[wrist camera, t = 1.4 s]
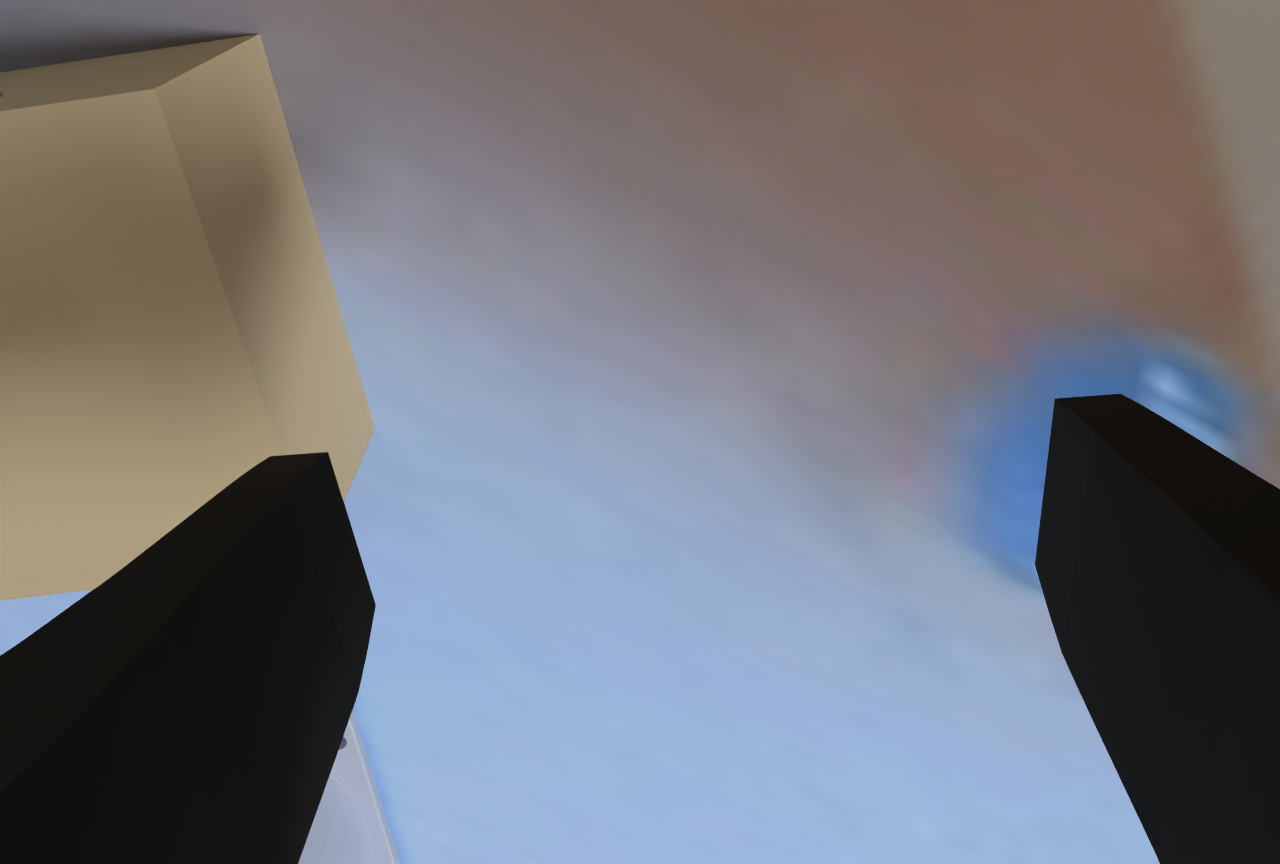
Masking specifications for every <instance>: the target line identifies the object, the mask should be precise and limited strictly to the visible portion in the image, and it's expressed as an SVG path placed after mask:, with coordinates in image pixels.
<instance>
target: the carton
mask: <svg viewBox="0 0 1280 864" xmlns="http://www.w3.org/2000/svg"><path fill="white" fill-rule="evenodd" d="M374 430H375V427H374V423H373V420H372V416H371V413H370V410H369V406H368V403H367V399H366V396H365V392H364V389H363V386H362V382H361V379H360V375H359V372H358V369H357V365H356V362H355V358H354V355H353V351H352V348H351V345H350V341H349V338H348V334H347V331H346V328H345V324H344V321H343V317H342V314H341V310H340V307H339V304H338V300H337V297H336V293H335V290H334V287H333V283H332V280H331V276H330V273H329V269H328V266H327V263H326V259H325V256H324V252H323V249H322V246H321V242H320V239H319V235H318V232H317V229H316V225H315V222H314V218H313V215H312V211H311V208H310V205H309V201H308V198H307V194H306V191H305V188H304V184H303V181H302V177H301V174H300V170H299V167H298V164H297V160H296V157H295V153H294V150H293V147H292V143H291V140H290V136H289V133H288V129H287V126H286V123H285V119H284V116H283V112H282V109H281V106H280V102H279V99H278V95H277V92H276V88H275V85H274V82H273V78H272V75H271V71H270V68H269V65H268V61H267V58H266V54H265V51H264V47H263V44H262V41H261V37H260V34H255V35H249V36H242V37H235V38H228V39H222V40H215V41H208V42H201V43H195V44H188V45H181V46H174V47H168V48H161V49H154V50H147V51H141V52H134V53H127V54H120V55H114V56H107V57H100V58H93V59H87V60H80V61H73V62H66V63H60V64H53V65H46V66H40V67H33V68H26V69H19V70H13V71H6V72H0V600H8V599H16V598H25V597H33V596H41V595H50V594H58V593H66V592H75V591H83V590H91V589H95V588H96V587H98V586H99V585H101V584H102V583H103V582H105V581H106V580H108V579H109V578H110V577H112V576H113V575H114V574H116V573H117V572H118V571H120V570H121V569H122V568H123V567H125V566H126V565H127V564H129V563H130V562H131V561H132V560H134V559H135V558H136V557H138V556H139V555H140V554H141V553H143V552H144V551H145V550H146V549H148V548H149V547H150V546H152V545H153V544H154V543H155V542H157V541H158V540H159V539H161V538H162V537H163V536H164V535H166V534H167V533H168V532H170V531H171V530H172V529H173V528H175V527H176V526H177V525H178V524H180V523H181V522H182V521H184V520H185V519H186V518H187V517H189V516H190V515H191V514H192V513H194V512H195V511H196V510H197V509H199V508H200V507H201V506H203V505H204V504H205V503H206V502H208V501H209V500H210V499H212V498H213V497H214V496H215V495H217V494H218V493H219V492H221V491H222V490H223V489H224V488H226V487H227V486H228V485H230V484H231V483H232V482H234V481H235V480H236V479H238V478H239V477H240V476H242V475H243V474H244V473H246V472H247V471H249V470H250V469H251V468H253V467H254V466H256V465H257V464H259V463H260V462H262V461H264V460H265V459H267V458H268V457H270V456H279V455H293V454H307V453H320V452H328V453H329V457H330V460H331V463H332V466H333V470H334V473H335V476H336V479H337V482H338V486H339V489H340V492H341V495H342V498H343V502H344V500H345V498H346V496H347V493H348V491H349V489H350V486H351V484H352V482H353V479H354V477H355V474H356V472H357V470H358V467H359V465H360V463H361V460H362V458H363V456H364V453H365V451H366V449H367V446H368V444H369V442H370V439H371V437H372V435H373V432H374Z"/></svg>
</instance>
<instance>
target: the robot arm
mask: <svg viewBox="0 0 1280 864" xmlns="http://www.w3.org/2000/svg"><path fill="white" fill-rule="evenodd" d="M1035 566H1036V570H1037V573H1038V576H1039V580H1040V583H1041V587H1042V590H1043V594H1044V597H1045V600H1046V604H1047V607H1048V611H1049V614H1050V617H1051V620H1052V623H1053V626H1054V629H1055V633H1056V636H1057V639H1058V642H1059V645H1060V648H1061V651H1062V654H1063V656H1064V658H1065V661H1066V663H1067V665H1068V667H1069V669H1070V672H1071V674H1072V676H1073V678H1074V680H1075V683H1076V685H1077V687H1078V689H1079V691H1080V693H1081V696H1082V698H1083V700H1084V702H1085V704H1086V706H1087V709H1088V711H1089V713H1090V715H1091V717H1092V719H1093V722H1094V724H1095V726H1096V728H1097V730H1098V732H1099V734H1100V736H1101V739H1102V741H1103V743H1104V745H1105V747H1106V749H1107V751H1108V753H1109V756H1110V758H1111V760H1112V762H1113V764H1114V766H1115V768H1116V770H1117V772H1118V775H1119V777H1120V779H1121V781H1122V783H1123V785H1124V787H1125V789H1126V792H1127V794H1128V796H1129V798H1130V800H1131V802H1132V804H1133V806H1134V809H1135V811H1136V813H1137V815H1138V817H1139V819H1140V821H1141V823H1142V825H1143V828H1144V830H1145V832H1146V834H1147V836H1148V838H1149V840H1150V842H1151V845H1152V847H1153V849H1154V851H1155V853H1156V855H1157V858H1158V860H1159V862H1160V864H1280V489H1278V488H1277V487H1275V486H1273V485H1272V484H1270V483H1268V482H1267V481H1265V480H1263V479H1262V478H1260V477H1258V476H1257V475H1255V474H1253V473H1252V472H1250V471H1249V470H1247V469H1245V468H1244V467H1242V466H1240V465H1239V464H1237V463H1235V462H1234V461H1232V460H1231V459H1229V458H1227V457H1226V456H1224V455H1223V454H1221V453H1219V452H1218V451H1216V450H1214V449H1213V448H1211V447H1210V446H1208V445H1206V444H1205V443H1203V442H1202V441H1200V440H1198V439H1197V438H1195V437H1194V436H1192V435H1190V434H1189V433H1187V432H1185V431H1184V430H1182V429H1181V428H1179V427H1177V426H1176V425H1174V424H1172V423H1171V422H1169V421H1168V420H1166V419H1164V418H1163V417H1161V416H1159V415H1158V414H1156V413H1154V412H1153V411H1151V410H1149V409H1147V408H1146V407H1144V406H1142V405H1140V404H1139V403H1137V402H1135V401H1133V400H1131V399H1129V398H1127V397H1125V396H1124V395H1122V394H1113V395H1099V396H1085V397H1072V398H1058V399H1055V402H1054V411H1053V419H1052V427H1051V436H1050V444H1049V452H1048V461H1047V469H1046V477H1045V486H1044V494H1043V502H1042V511H1041V519H1040V527H1039V536H1038V544H1037V552H1036V561H1035ZM375 606H376V605H375V602H374V598H373V595H372V592H371V589H370V585H369V582H368V579H367V576H366V573H365V569H364V566H363V563H362V560H361V556H360V553H359V550H358V547H357V544H356V540H355V537H354V534H353V531H352V527H351V524H350V521H349V518H348V515H347V511H346V508H345V505H344V502H343V498H342V495H341V492H340V489H339V486H338V482H337V479H336V476H335V473H334V470H333V466H332V463H331V460H330V457H329V453H328V452H320V453H307V454H293V455H279V456H270V457H268V458H267V459H265V460H264V461H262V462H260V463H259V464H257V465H256V466H254V467H253V468H251V469H250V470H249V471H247V472H246V473H244V474H243V475H242V476H240V477H239V478H238V479H236V480H235V481H234V482H232V483H231V484H230V485H228V486H227V487H226V488H224V489H223V490H222V491H221V492H219V493H218V494H217V495H215V496H214V497H213V498H212V499H210V500H209V501H208V502H206V503H205V504H204V505H203V506H201V507H200V508H199V509H197V510H196V511H195V512H194V513H192V514H191V515H190V516H189V517H187V518H186V519H185V520H184V521H182V522H181V523H180V524H178V525H177V526H176V527H175V528H173V529H172V530H171V531H170V532H168V533H167V534H166V535H164V536H163V537H162V538H161V539H159V540H158V541H157V542H155V543H154V544H153V545H152V546H150V547H149V548H148V549H146V550H145V551H144V552H143V553H141V554H140V555H139V556H138V557H136V558H135V559H134V560H132V561H131V562H130V563H129V564H127V565H126V566H125V567H123V568H122V569H121V570H120V571H118V572H117V573H116V574H114V575H113V576H112V577H110V578H109V579H108V580H106V581H105V582H103V583H102V584H101V585H99V586H98V587H96V588H95V589H94V590H92V591H91V592H90V593H88V594H87V595H85V596H84V597H83V598H81V599H80V600H79V601H77V602H76V603H74V604H73V605H72V606H70V607H69V608H67V609H66V610H65V611H63V612H62V613H61V614H59V615H58V616H56V617H55V618H54V619H52V620H51V621H50V622H48V623H47V624H45V625H44V626H43V627H41V628H40V629H38V630H37V631H36V632H34V633H33V634H32V635H30V636H29V637H27V638H26V639H25V640H23V641H22V642H20V643H19V644H17V645H16V646H14V647H13V648H11V649H10V650H8V651H7V652H5V653H4V654H3V655H1V656H0V864H400V861H399V858H398V854H397V851H396V848H395V845H394V841H393V838H392V835H391V832H390V828H389V825H388V822H387V819H386V815H385V812H384V809H383V806H382V802H381V799H380V796H379V792H378V789H377V786H376V783H375V779H374V776H373V773H372V770H371V766H370V763H369V760H368V757H367V753H366V750H365V747H364V744H363V740H362V737H361V734H360V731H359V727H358V724H357V721H356V718H355V715H354V713H353V711H352V710H353V707H354V704H355V701H356V698H357V694H358V691H359V687H360V682H361V678H362V673H363V668H364V664H365V659H366V655H367V649H368V644H369V638H370V633H371V628H372V622H373V617H374V611H375ZM343 737H344V738H343Z"/></svg>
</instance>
